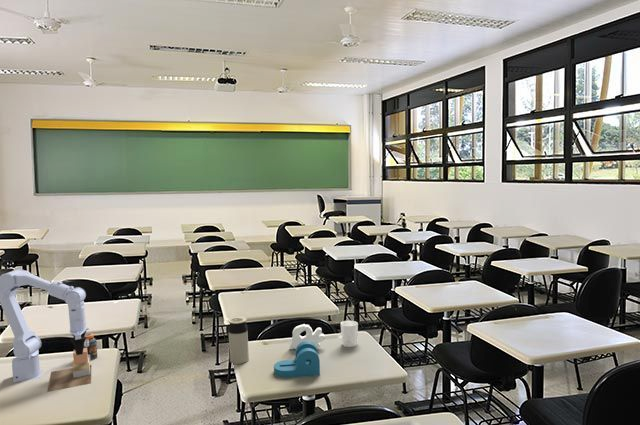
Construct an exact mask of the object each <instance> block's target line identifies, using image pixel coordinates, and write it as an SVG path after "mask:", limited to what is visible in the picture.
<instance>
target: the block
mask: <svg viewBox="0 0 640 425" xmlns="http://www.w3.org/2000/svg"><path fill="white" fill-rule="evenodd" d="M72 357H73V360H74V365H76V364H82V363H87V362H88V353H87V348H83V354H81V355H77V354H76V351H75V349H73V352H72Z"/></svg>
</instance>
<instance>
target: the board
mask: <svg viewBox="0 0 640 425" xmlns="http://www.w3.org/2000/svg"><path fill="white" fill-rule="evenodd" d="M90 384H92V364H90V375H86V376H80V377H75V378H73V368H71V367H70V368H65V369H60V370H55V371H51V372H50V376H49V381H48V387H47V392H46V393H48V392H49V393H50V392H54V391H60V390H64V389H65V390H66V389H69V388H74V387H79V386H84V385H90Z"/></svg>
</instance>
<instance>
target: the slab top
mask: <svg viewBox="0 0 640 425" xmlns="http://www.w3.org/2000/svg"><path fill="white" fill-rule="evenodd" d="M90 363H91V362H90V361H89V358H88V362H87V363H82V364H76V365H74V359H73V360H72V368H73V372H75V371H80V370H85V369H89V367H90V365H91V364H90Z"/></svg>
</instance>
